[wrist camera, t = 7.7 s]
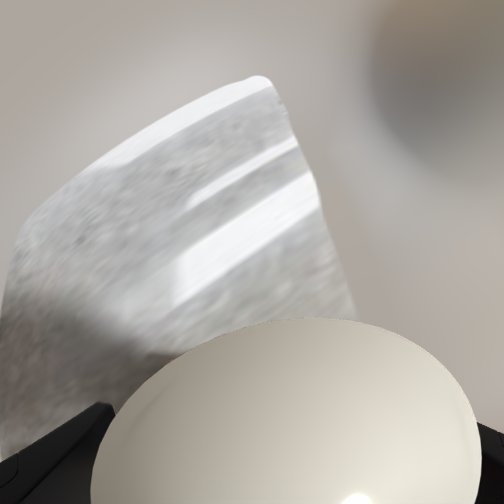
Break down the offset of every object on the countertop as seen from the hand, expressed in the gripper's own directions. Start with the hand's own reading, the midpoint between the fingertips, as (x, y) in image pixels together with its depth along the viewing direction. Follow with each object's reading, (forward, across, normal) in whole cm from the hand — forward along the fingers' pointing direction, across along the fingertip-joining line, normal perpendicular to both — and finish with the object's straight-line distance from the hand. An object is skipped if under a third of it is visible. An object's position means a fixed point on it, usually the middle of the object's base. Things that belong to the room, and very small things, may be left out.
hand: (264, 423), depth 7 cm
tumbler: (+5, 0, +6) cm, 8 cm away
